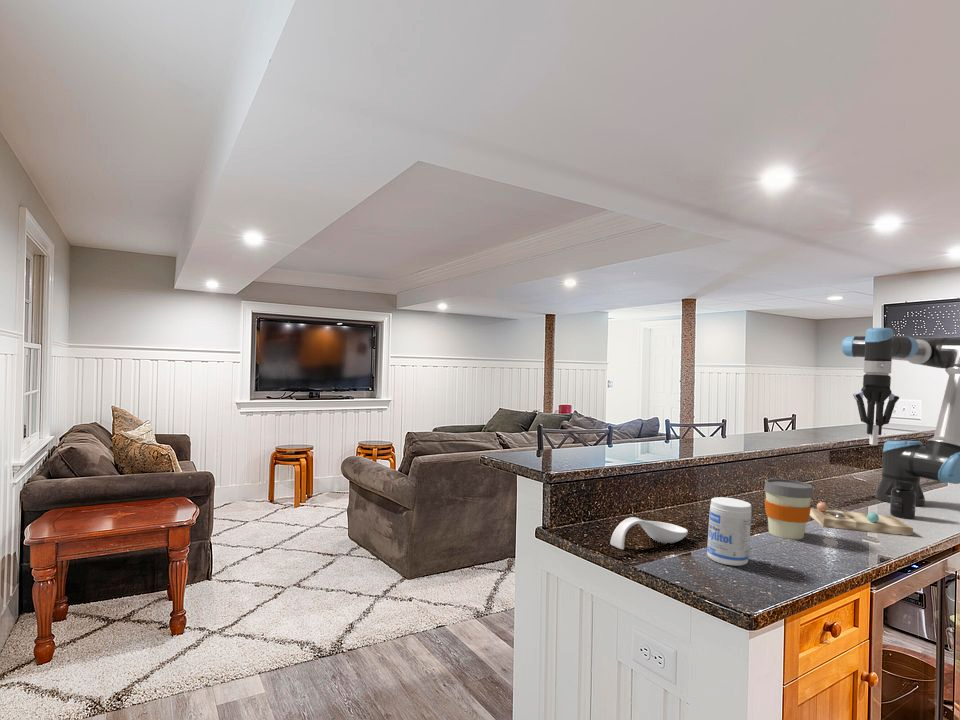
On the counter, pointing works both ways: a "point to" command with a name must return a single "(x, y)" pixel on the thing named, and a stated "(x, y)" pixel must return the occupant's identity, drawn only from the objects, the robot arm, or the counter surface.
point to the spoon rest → (648, 531)
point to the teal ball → (872, 517)
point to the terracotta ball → (822, 506)
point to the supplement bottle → (903, 500)
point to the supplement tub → (729, 531)
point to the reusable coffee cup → (787, 507)
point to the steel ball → (839, 515)
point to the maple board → (861, 522)
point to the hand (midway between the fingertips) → (873, 444)
